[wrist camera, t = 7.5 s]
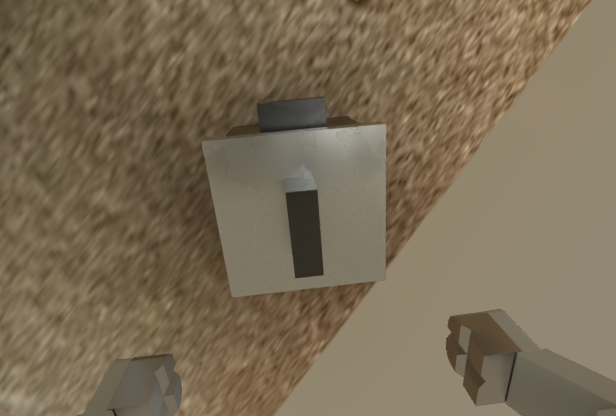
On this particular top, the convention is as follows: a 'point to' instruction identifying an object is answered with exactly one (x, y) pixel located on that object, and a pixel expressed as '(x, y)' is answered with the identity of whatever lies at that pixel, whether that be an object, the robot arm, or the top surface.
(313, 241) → the lid
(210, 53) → the top surface
